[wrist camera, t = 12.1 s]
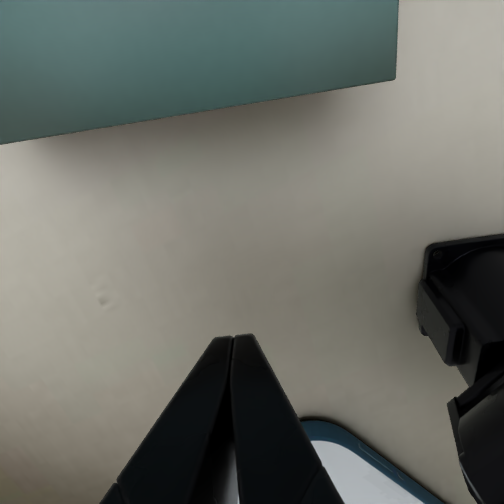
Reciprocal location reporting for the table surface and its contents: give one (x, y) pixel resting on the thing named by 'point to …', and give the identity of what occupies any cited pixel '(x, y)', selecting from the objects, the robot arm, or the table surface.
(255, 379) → the robot arm
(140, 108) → the lid
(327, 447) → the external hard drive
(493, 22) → the table surface
